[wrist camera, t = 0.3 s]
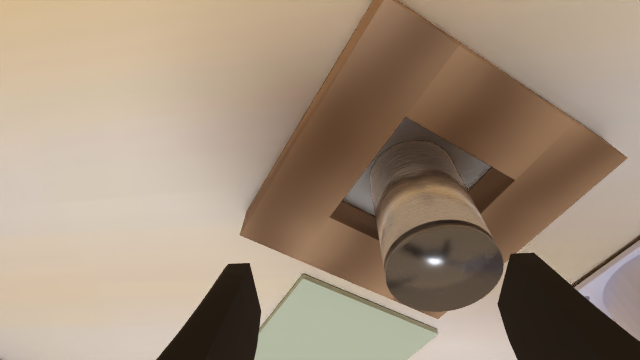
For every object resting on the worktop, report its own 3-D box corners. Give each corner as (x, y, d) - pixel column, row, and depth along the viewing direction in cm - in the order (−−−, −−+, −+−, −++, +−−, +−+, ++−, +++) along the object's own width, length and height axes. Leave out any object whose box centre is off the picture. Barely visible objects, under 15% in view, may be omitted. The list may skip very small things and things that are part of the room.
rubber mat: (436, 329, 28) (438, 334, 28) (354, 397, 33) (354, 402, 33) (303, 273, 25) (302, 278, 25) (236, 358, 30) (235, 363, 30)
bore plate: (601, 138, 19) (627, 157, 18) (430, 293, 26) (438, 319, 24) (380, -11, 16) (386, -4, 14) (246, 212, 22) (239, 235, 21)
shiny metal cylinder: (471, 164, 20) (529, 259, 15) (418, 221, 23) (450, 324, 17) (402, 125, 19) (435, 211, 13) (353, 189, 21) (363, 287, 16)
